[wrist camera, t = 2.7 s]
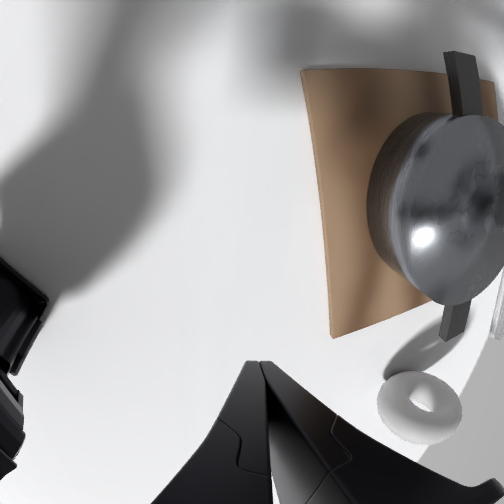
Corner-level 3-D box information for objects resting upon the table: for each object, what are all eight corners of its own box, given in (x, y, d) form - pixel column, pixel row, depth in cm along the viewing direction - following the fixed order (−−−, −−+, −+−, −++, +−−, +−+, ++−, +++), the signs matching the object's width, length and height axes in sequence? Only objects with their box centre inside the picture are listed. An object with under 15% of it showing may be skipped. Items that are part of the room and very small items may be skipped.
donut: (433, 359, 31) (483, 413, 21) (421, 381, 32) (465, 435, 23) (367, 370, 28) (419, 442, 19) (356, 394, 29) (400, 464, 20)
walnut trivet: (330, 334, 25) (333, 338, 24) (300, 71, 17) (303, 70, 16) (485, 270, 27) (489, 272, 27) (489, 82, 19) (493, 82, 19)
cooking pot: (366, 335, 25) (397, 373, 20) (346, 54, 16) (393, 38, 12) (470, 289, 27) (503, 313, 22) (473, 67, 18) (519, 67, 13)
